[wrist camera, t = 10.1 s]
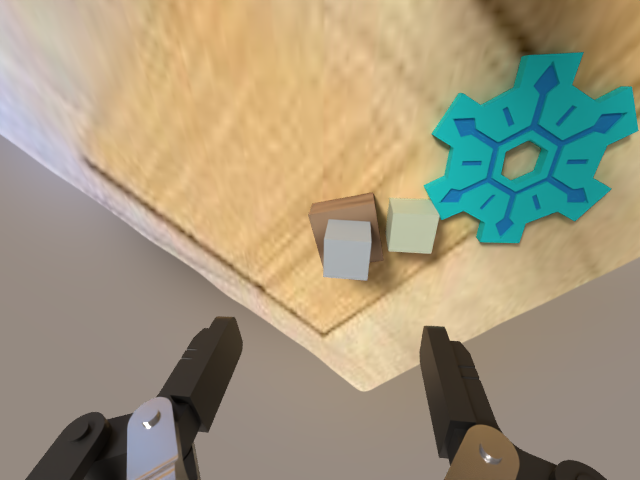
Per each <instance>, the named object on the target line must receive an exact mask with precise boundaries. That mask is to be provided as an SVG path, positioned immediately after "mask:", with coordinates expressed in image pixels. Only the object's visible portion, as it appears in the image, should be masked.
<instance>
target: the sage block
mask: <svg viewBox="0 0 640 480" xmlns="http://www.w3.org/2000/svg"><path fill="white" fill-rule="evenodd" d="M439 216H440V215H439V213H438V212H437V210H436V208H435V207H434V205H433V203H432V202H431V200H430V199H409V198H389V206H388V215H387V223H386V231H385V234H386V240H387V246H388V251H393V252H410V253H427V254H431V253H432V248H433V243H434V239H435V234H436V230H437V225H438V221H439Z"/></svg>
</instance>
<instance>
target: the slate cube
mask: <svg viewBox="0 0 640 480" xmlns="http://www.w3.org/2000/svg"><path fill="white" fill-rule="evenodd" d="M370 251H371V226H370V222H366V221H350V220H334V219H329V220H328V224H327V229H326V233H325V237H324V272H323V277H330V278H342V279H354V280H366V281H367V278H368V269H369V260H370Z"/></svg>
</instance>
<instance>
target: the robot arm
mask: <svg viewBox="0 0 640 480" xmlns="http://www.w3.org/2000/svg"><path fill="white" fill-rule="evenodd" d="M242 343H243V342H242V338H241V334H240V331H239V328H238V325H237V321H236V319H235V318H234V317H216V318H215V319H214V321H213V322H212V324H211V326H210V328H209V329H208V328H204V329H203V330H202V331H200V332H199V333H198V334H197V335H196V336H195V337H194V338H193V340H192V341H191V343H190V344H189V346H188V348H187V351H185V353H184V354H183V356H182V359H181V360H180V361H179V362H178V364H177V366H176V367H175V368H174V370H173V372H172V373H171V375H170V377H169V378H168V380H167V382H166V383H165V385H164V386H163V388H162V389H161V391H160V393H159V394H158V395H157V397H156V398H153V399H150V400H148V401H146V402H145V403H144V404H142V405H141V406H140V407H139V408H138V409H137V410H136V411H135V412H134V413H131V414H127V415H124V416H119V417H115V418H112V419H106V418H105V417H104V416H103V415H102V414H101V413H99V412H91V413H88V414H85V415H83V416H81V417H79V418H77V419H76V420H74V421H73V422H72V423H70V424H69V425H68V426H67V427H66V428H65V429H64V430H63V432H62V433H61V434H60V435H59V436H58V438H57V439H56V440H55V442H54V443H53V444H52V446H51V447H50V448H49V450H48V451H47V452H46V453H45V455H44V456H43V457H42V459H41V460H40V461H39V463H38V464H37V465H36V466H35V468H34V469H33V470H32V472H31V473H30V474H29V476H28V477H27V478H26V479H25V480H201V478H200V472H199V466H198V460H197V455H196V449H195V444H194V439H195V437H196V435H197V432H209V429H210V427H211V425H212V422H213V420H214V417H215V415H216V413H217V410H218V408H219V406H220V403H221V401H222V398H223V396H224V394H225V391H226V389H227V386H228V384H229V381H230V379H231V377H232V374H233V372H234V370H235V367H236V365H237V362H238V360H239V357H240V355H241V352H242V346H243V344H242ZM420 365H421V370H422V376H423V380H424V385H425V390H426V395H427V400H428V405H429V410H430V415H431V420H432V425H433V430H434V435H435V440H436V445H437V449H438V454H439V457H440V458H448V459H449V462H450V468H449V470H448V472H447V474H446V476H445V478H444V480H607V479H606V478H604V477H603V476H602V475H601V474H600V473H598V472H597V471H596V470H594V469H593V468H591V467H589V466H587V465H585V464H583V463H581V462H578V461H573V460H567V461H562V462H561V463H559V464H558V465H555V464H553V463H550V462H548V461H545V460H543V459H541V458H538V457H536V456H533V455H531V454H529V453H527V452H525V451H522V450H521V449H519V448H518V447H517V446H515V445H514V444H513V443H512V442H511V441H510V440H509V439H508V438H507V437H506V436H505V435H504V434H503V433H502V431H501V430H500V428H499V427H498V425H497V423H496V420H495V417H494V415H493V412H492V410H491V407H490V404H489V402H488V399H487V397H486V394H485V391H484V389H483V386H482V384H481V381H480V380H479V376H478V373H477V371H476V369H475V365H474V363H473V360H472V358H471V355H470V353H469V352H468V351H467V350H466V348H465V347H464V346H463V345H462V344H461V342H460V341H450V340H449V337H448V334H447V331H446V329H445V327H439V326H424V329H423V334H422V341H421V347H420Z"/></svg>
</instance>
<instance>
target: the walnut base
mask: <svg viewBox="0 0 640 480" xmlns="http://www.w3.org/2000/svg"><path fill="white" fill-rule="evenodd" d="M308 216H309V219H310V223H311V226H312V230H313V233H314V237H315V241H316V244H317V248H318V251H319V255H320V258H321V262H322V265H323V269H324V237H325V233H326V229H327V224H328V220H329V219H334V220H350V221H366V222H370V226H371V251H370V260H369V262H376V261H383V253H382V245H381V239H380V233H379V227H378V221H377V215H376V208H375V202H374V196H373V193H367V194H362V195H356V196H351V197H346V198H340V199H335V200H329V201H324V202H319V203H313V204H312V206H311V209H310V212H309V214H308Z"/></svg>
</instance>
